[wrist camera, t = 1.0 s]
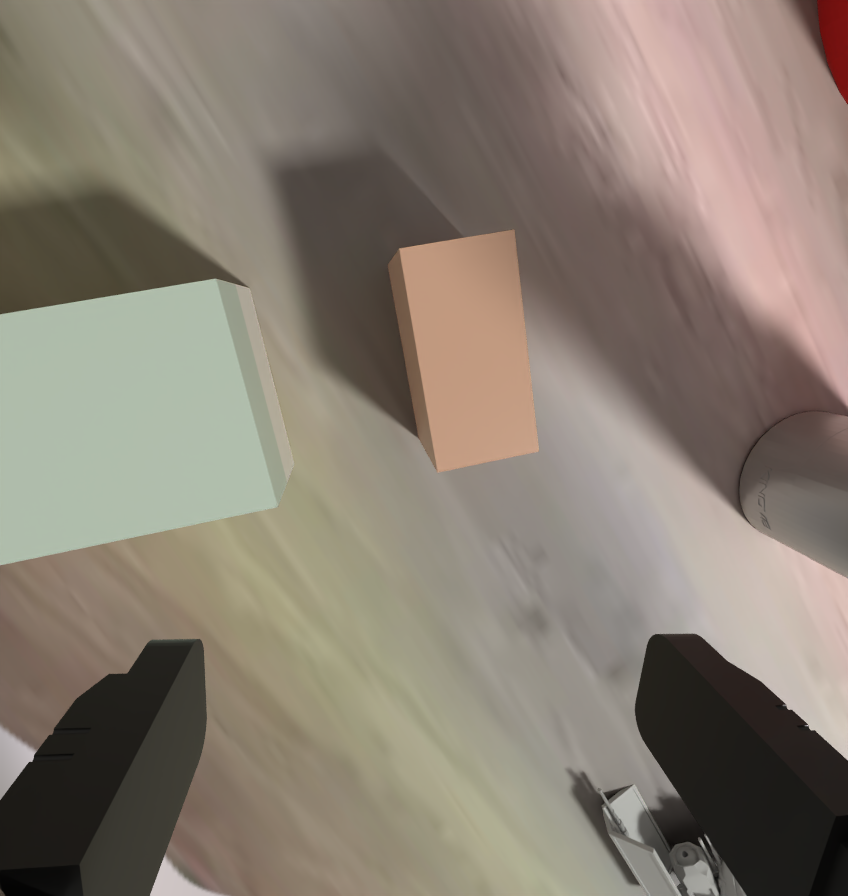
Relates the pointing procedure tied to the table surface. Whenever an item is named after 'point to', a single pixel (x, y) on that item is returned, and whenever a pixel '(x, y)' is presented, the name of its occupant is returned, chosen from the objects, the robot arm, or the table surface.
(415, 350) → the terracotta brick
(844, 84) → the toy clock
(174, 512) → the green and white block
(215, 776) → the table surface
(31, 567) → the table surface
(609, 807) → the spaceship toy
